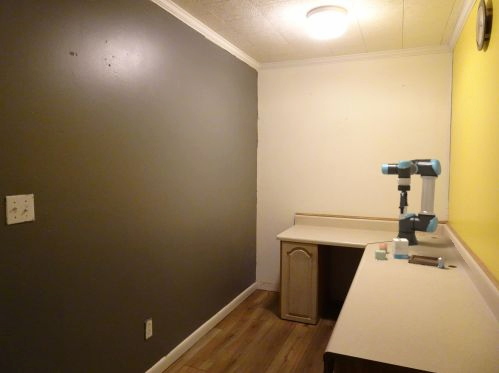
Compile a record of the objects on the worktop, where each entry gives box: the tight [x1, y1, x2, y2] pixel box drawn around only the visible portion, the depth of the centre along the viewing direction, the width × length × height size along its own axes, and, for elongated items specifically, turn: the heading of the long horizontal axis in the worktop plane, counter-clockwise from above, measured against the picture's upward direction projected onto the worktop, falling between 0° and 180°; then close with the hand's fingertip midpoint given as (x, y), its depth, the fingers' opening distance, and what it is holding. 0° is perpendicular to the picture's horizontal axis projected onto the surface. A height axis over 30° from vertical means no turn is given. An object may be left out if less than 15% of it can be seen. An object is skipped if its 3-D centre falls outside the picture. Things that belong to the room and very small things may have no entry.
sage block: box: [374, 249, 387, 261], centre depth 231 cm, size 6×6×5 cm
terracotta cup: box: [379, 242, 388, 255], centre depth 246 cm, size 5×5×6 cm
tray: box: [407, 254, 438, 268], centre depth 223 cm, size 15×16×2 cm
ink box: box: [391, 237, 409, 260], centre depth 234 cm, size 9×8×13 cm
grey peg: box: [437, 256, 446, 270], centre depth 210 cm, size 4×4×6 cm
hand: (403, 217), depth 232 cm, fingers open, 13 cm apart
